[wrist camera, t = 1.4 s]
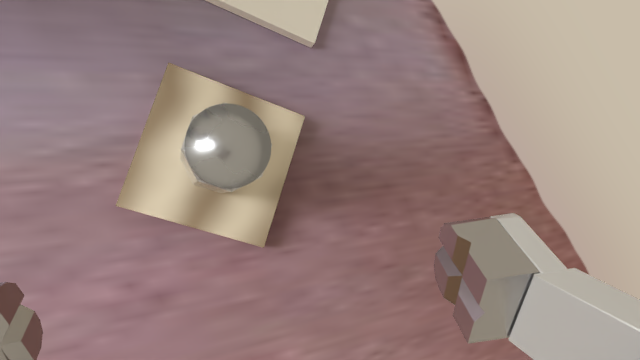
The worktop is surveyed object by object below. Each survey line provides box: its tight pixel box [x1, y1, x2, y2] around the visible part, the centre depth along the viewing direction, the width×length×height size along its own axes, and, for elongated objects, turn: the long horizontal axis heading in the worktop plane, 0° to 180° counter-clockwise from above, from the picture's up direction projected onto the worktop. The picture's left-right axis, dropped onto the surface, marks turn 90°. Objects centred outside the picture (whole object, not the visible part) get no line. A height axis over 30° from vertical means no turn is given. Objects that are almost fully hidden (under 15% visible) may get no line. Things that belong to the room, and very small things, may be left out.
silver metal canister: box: [180, 103, 272, 193], centre depth 30 cm, size 5×5×8 cm
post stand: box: [116, 63, 305, 248], centre depth 33 cm, size 12×12×8 cm
